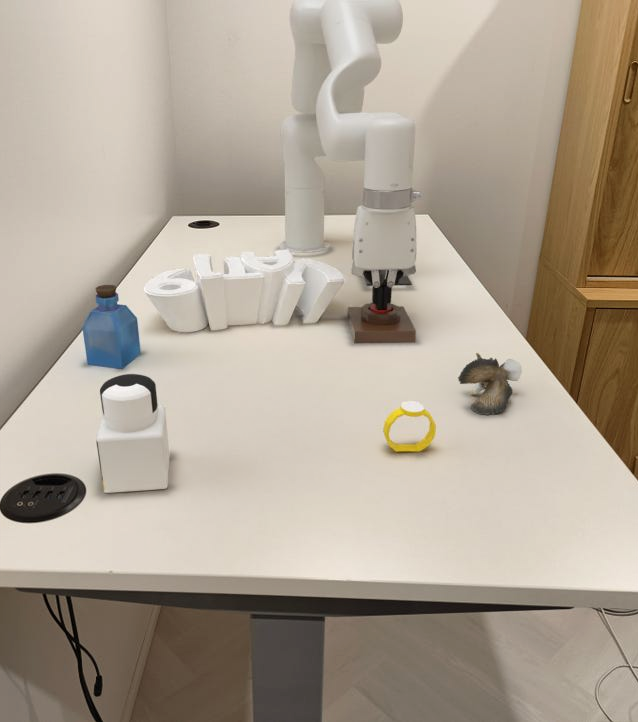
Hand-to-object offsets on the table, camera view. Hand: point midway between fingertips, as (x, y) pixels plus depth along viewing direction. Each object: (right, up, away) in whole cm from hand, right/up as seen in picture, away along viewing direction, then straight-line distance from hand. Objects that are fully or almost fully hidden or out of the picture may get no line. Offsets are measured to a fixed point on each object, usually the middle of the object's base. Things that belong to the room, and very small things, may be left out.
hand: (381, 307), depth 115 cm
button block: (0, -4, +2) cm, 4 cm away
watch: (-3, -20, -33) cm, 39 cm away
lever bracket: (+6, +8, +27) cm, 29 cm away
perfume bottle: (-44, -9, -6) cm, 46 cm away
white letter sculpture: (-23, -1, +9) cm, 25 cm away
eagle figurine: (+10, -15, -22) cm, 28 cm away
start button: (0, -2, +1) cm, 2 cm away
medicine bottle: (-35, -23, -37) cm, 56 cm away
